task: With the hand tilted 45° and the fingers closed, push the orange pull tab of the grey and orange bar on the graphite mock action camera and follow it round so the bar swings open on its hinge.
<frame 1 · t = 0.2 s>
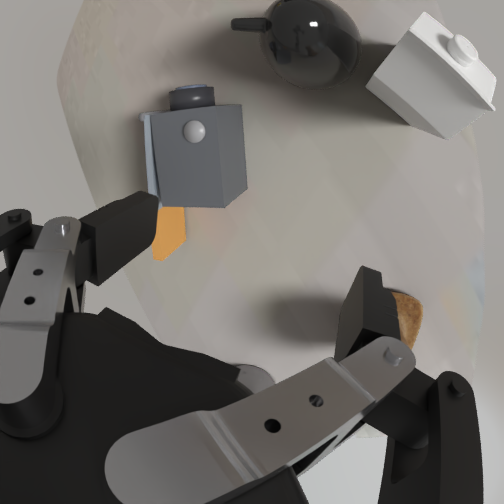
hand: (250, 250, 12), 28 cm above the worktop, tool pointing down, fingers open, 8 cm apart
grey and orange bar: (164, 183, 40), point 4 cm above the worktop, hinge at 5.0°
clay pot: (378, 327, 45), on the worktop
milk carton: (405, 85, 30), on the worktop
pump dispenser: (316, 51, 31), on the worktop
camera body: (215, 148, 40), on the worktop
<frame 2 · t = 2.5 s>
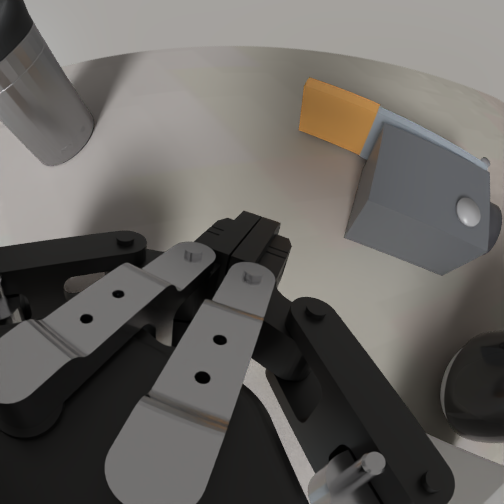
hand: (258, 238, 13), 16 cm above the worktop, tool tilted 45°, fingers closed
grey and orange bar: (393, 141, 28), point 4 cm above the worktop, hinge at 5.0°
milk carton: (399, 473, 22), on the worktop
pump dispenser: (465, 383, 24), on the worktop
camera body: (403, 221, 29), on the worktop
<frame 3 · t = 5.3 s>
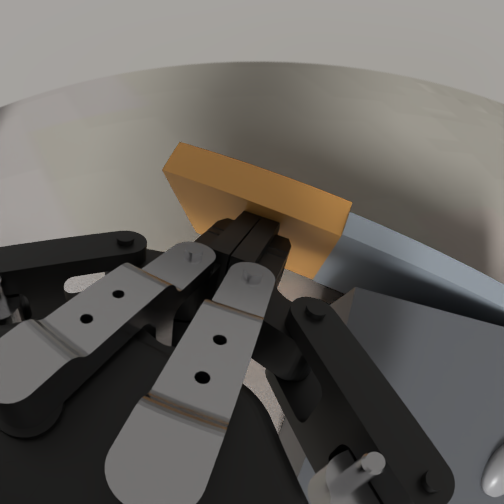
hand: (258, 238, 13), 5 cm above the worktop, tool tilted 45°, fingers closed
grey and orange bar: (380, 267, 14), point 4 cm above the worktop, hinge at 6.8°, touching gripper
camera body: (386, 404, 15), on the worktop
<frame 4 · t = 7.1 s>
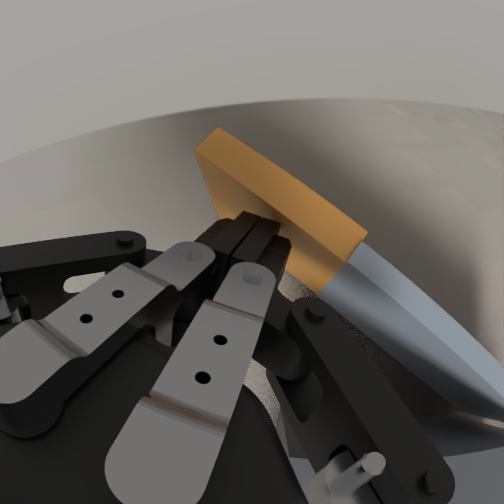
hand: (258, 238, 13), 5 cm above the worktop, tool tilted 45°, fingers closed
grey and orange bar: (383, 303, 13), point 4 cm above the worktop, hinge at 30.8°, touching gripper
camera body: (361, 477, 14), on the worktop
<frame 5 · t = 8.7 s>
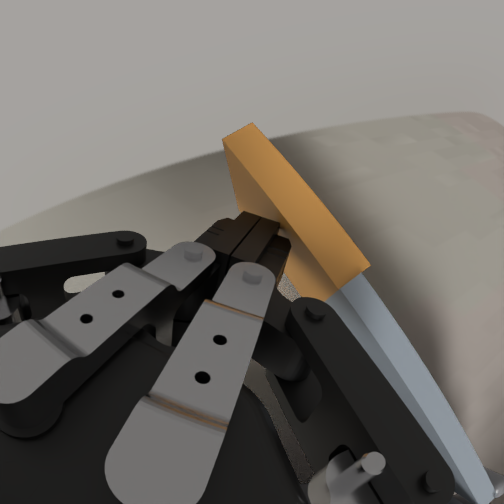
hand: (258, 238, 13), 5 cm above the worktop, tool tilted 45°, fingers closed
grey and orange bar: (371, 339, 13), point 4 cm above the worktop, hinge at 55.9°, touching gripper
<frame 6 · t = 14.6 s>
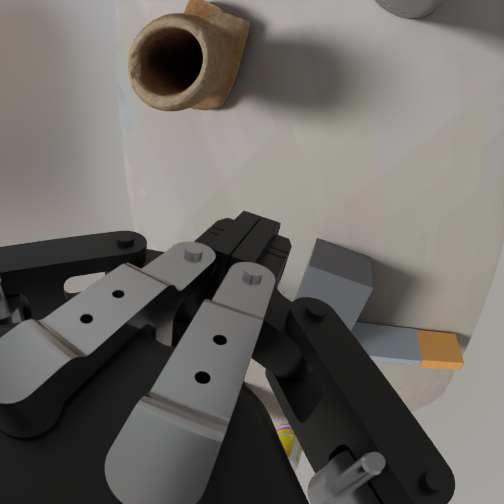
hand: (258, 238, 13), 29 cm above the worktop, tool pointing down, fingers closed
grey and orange bar: (401, 346, 41), point 4 cm above the worktop, hinge at 76.6°
clay pot: (217, 57, 36), on the worktop
supplement bottle: (292, 430, 64), on the worktop
camera body: (331, 280, 45), on the worktop
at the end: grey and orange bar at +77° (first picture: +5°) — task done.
